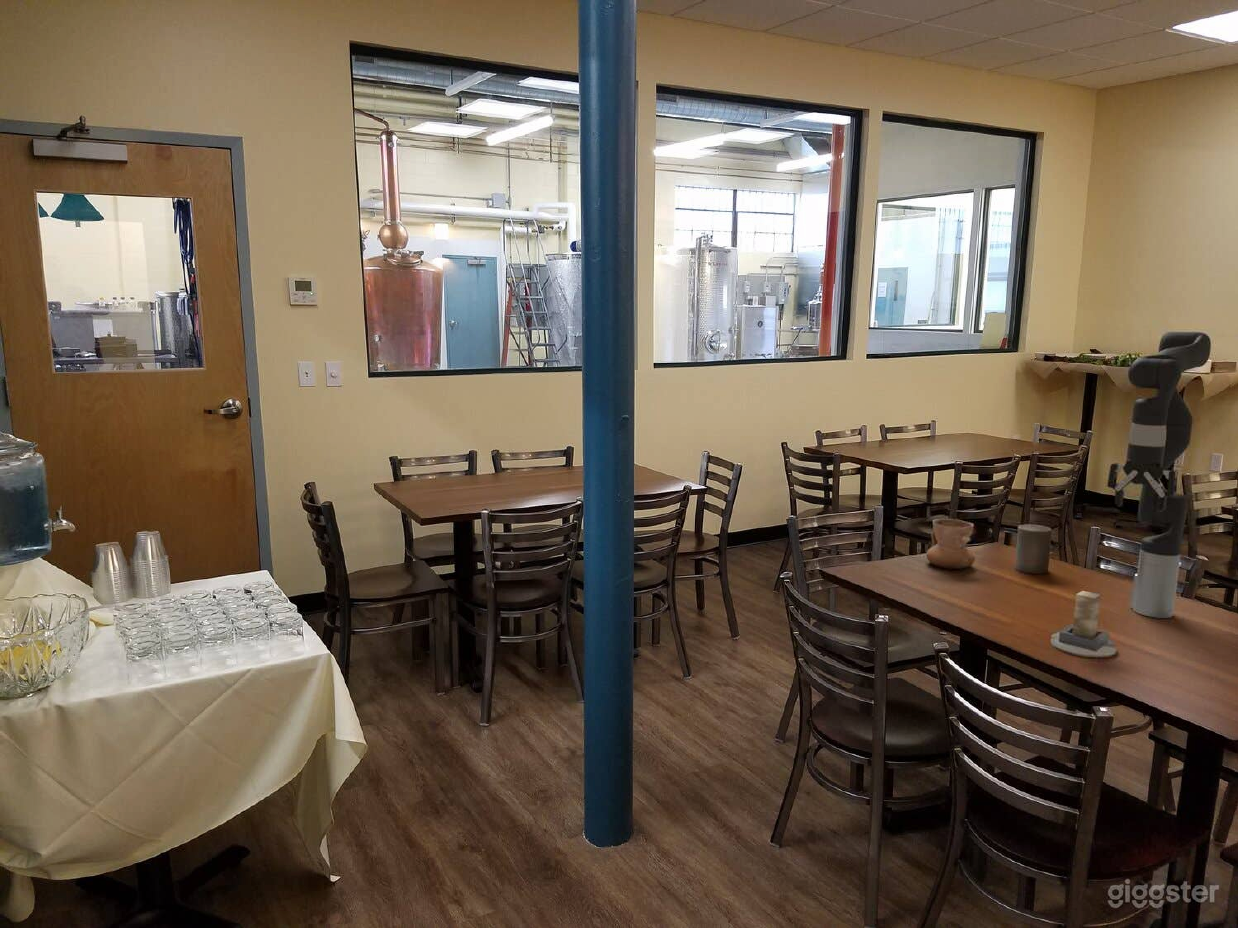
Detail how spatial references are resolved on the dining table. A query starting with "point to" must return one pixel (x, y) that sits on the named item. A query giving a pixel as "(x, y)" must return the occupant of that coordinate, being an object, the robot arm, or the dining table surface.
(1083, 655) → the rosette plate
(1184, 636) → the dining table surface
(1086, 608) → the beige rectangular block
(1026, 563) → the pillar candle
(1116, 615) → the dining table surface
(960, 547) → the ceramic jug
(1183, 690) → the dining table surface
